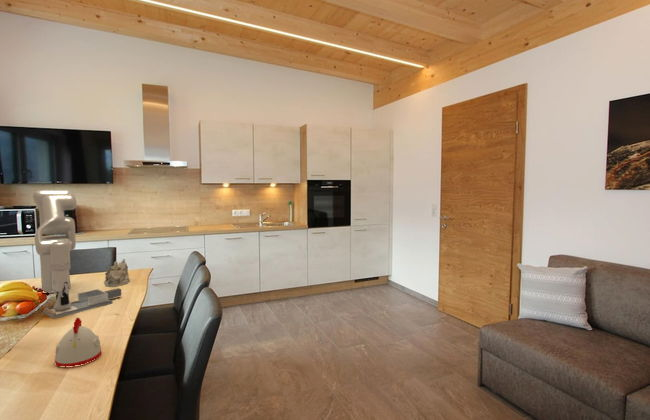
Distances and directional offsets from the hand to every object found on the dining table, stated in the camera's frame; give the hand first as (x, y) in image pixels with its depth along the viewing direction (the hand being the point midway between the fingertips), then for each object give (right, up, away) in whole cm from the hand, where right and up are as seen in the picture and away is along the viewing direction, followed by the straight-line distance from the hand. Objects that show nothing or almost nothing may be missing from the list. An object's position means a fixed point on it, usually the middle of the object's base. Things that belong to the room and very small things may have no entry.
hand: (62, 302), depth 172 cm
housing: (+10, -2, +15) cm, 18 cm away
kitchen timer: (+38, -9, -43) cm, 58 cm away
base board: (+4, -4, +6) cm, 8 cm away
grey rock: (-3, -1, +48) cm, 48 cm away
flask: (0, -3, 0) cm, 3 cm away
